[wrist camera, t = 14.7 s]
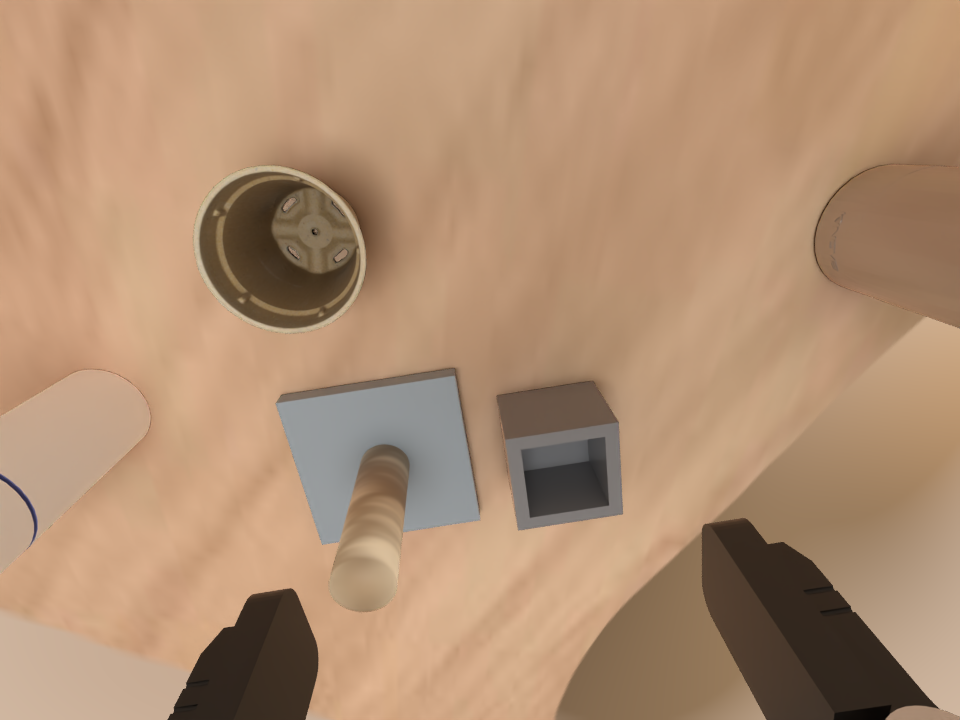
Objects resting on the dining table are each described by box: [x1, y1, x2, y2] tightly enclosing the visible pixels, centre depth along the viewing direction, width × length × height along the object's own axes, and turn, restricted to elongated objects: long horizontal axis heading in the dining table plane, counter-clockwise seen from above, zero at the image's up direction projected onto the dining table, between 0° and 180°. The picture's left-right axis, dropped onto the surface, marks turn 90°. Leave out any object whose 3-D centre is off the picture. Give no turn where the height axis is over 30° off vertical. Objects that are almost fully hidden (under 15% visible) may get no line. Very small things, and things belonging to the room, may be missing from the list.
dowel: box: [329, 444, 410, 612], centre depth 37 cm, size 4×4×13 cm
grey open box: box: [497, 381, 623, 530], centre depth 41 cm, size 8×8×7 cm
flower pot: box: [193, 165, 367, 334], centre depth 33 cm, size 9×9×9 cm
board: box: [276, 368, 480, 545], centre depth 44 cm, size 14×14×2 cm
